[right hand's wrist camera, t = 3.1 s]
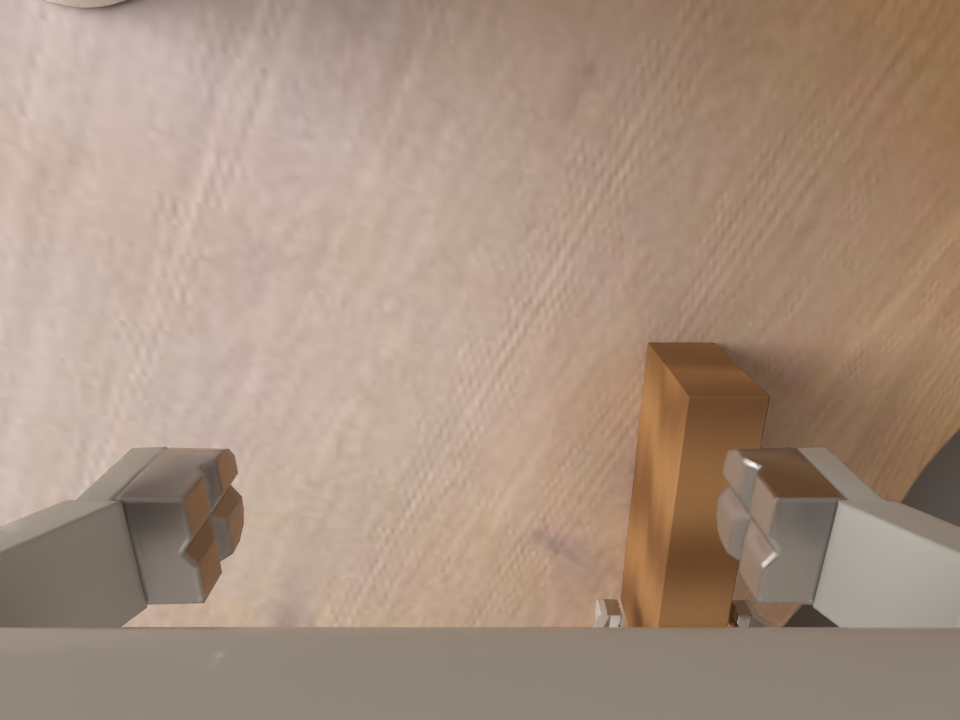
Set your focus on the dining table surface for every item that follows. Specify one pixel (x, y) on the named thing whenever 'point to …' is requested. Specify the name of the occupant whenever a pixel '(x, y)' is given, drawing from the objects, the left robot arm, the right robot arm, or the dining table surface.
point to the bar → (686, 485)
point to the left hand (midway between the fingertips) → (671, 606)
